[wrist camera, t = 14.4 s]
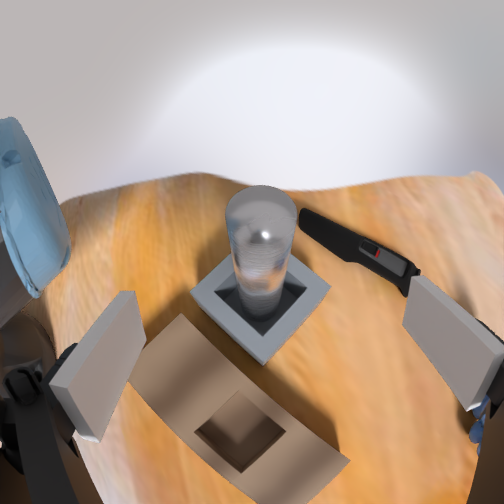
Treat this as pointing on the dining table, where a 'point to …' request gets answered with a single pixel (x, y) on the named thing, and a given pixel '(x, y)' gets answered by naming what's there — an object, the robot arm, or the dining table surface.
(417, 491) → the dining table surface
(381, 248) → the electric trimmer
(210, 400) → the beam
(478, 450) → the blue lobed rosette
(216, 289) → the block
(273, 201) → the axle
